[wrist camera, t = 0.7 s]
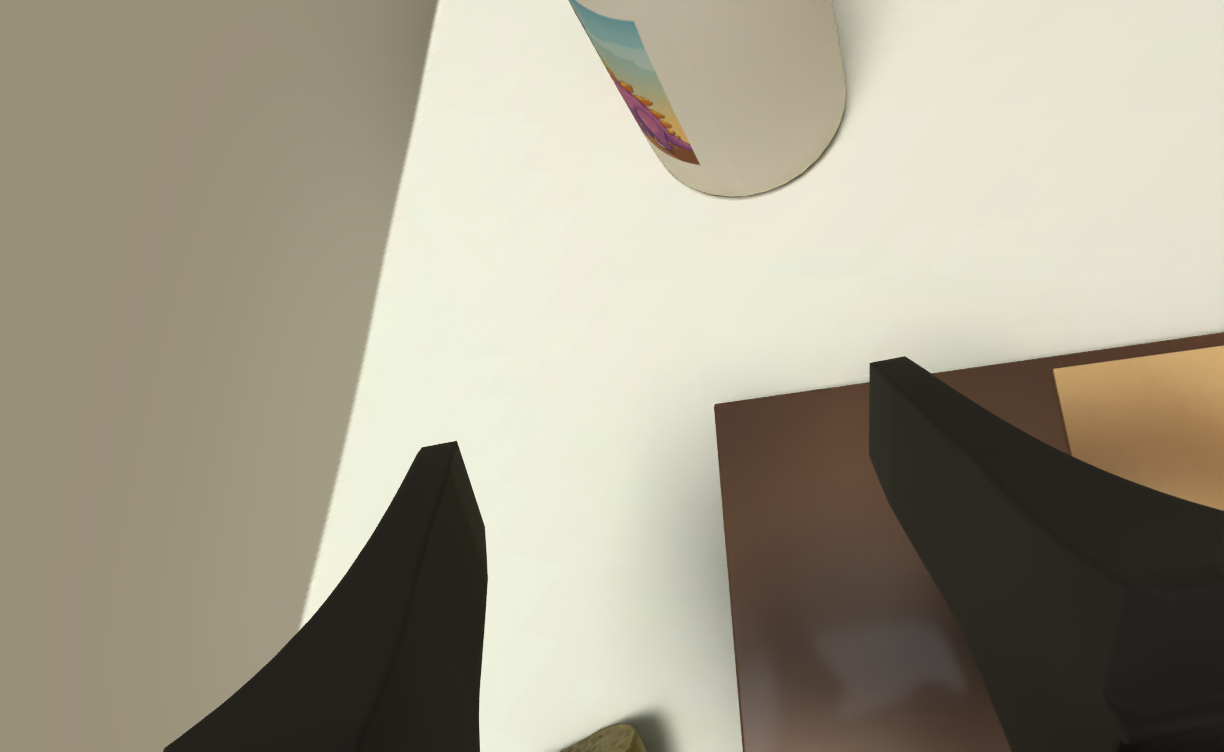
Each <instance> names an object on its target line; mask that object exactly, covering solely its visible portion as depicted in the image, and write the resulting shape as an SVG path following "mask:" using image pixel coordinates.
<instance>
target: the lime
mask: <svg viewBox="0 0 1224 752" xmlns="http://www.w3.org/2000/svg"><path fill="white" fill-rule="evenodd" d="M560 752H646V751H645V747H644V744H643V742H642V740H641V738H640V736H639V735H638V733H637V731H636V730H635V729H634V727H633V726H631V725H623V724H618V725H616V726H614V727H608V728H606V729H603V730H600V731H598V732H596V733H594V734H592V735H591V736H590V737H588V738H586V739H584V740H582V741H579V742H578V743H577V744H575V745H572V746H570V747H569V748H568V749H566V750H562V751H560Z"/></svg>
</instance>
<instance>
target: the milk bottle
mask: <svg viewBox="0 0 1224 752" xmlns="http://www.w3.org/2000/svg"><path fill="white" fill-rule="evenodd" d="M569 2H570V4H571V6H572V8H573V10H574V12H575V13H576V15H577V17H578V19H579V21H580V22H581V24H582V26H583V28H584V30H585V31H586V33H587V35H588V37H589V38H590V40H591V42H592V44H593V46H594V47H595V49H596V51H597V53H598V55H599V56H600V58H601V60H602V62H603V64H604V65H605V67H606V69H607V71H608V73H609V74H610V76H611V78H612V79H613V81H614V83H615V85H616V86H617V88H618V90H619V92H620V93H621V95H622V97H623V99H624V100H625V102H626V104H627V106H628V107H629V109H630V111H631V113H632V114H633V116H634V118H635V120H636V121H637V123H638V125H639V127H640V128H641V130H642V132H643V133H644V135H645V137H646V139H647V140H648V142H649V144H650V145H651V147H652V149H653V150H654V152H655V153H656V155H657V157H658V158H659V160H660V161H661V162H662V164H663V165H664V167H665V168H666V169H667V170H668V171H669V172H670V173H671V174H672V175H673V176H674V177H675V178H676V179H678V180H679V181H681V182H682V183H684V184H686V185H687V186H689V187H691V188H694V189H696V190H699V191H702V192H705V193H709V194H712V195H721V196H728V197H733V196H749V195H753V194H757V193H762V192H767V191H769V190H771V189H774V188H776V187H778V186H781V185H783V184H786V183H787V182H789V181H790V180H792V179H793V178H795V177H796V176H798V175H800V174H801V173H803V172H804V171H805V170H806V169H807V168H808V167H809V166H810V165H811V164H813V163H814V162H815V161H816V160H817V159H818V157H819V156H820V155H821V153H822V152H823V151H824V150H825V149H826V147H827V146H828V145H829V143H830V141H831V140H832V138H833V136H834V135H835V133H836V131H837V129H838V126H839V124H840V122H841V119H842V116H843V112H844V107H845V100H846V85H845V77H844V68H843V61H842V55H841V49H840V44H839V38H838V32H837V26H836V21H835V15H834V10H833V4H832V0H569Z"/></svg>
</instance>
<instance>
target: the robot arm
mask: <svg viewBox="0 0 1224 752" xmlns="http://www.w3.org/2000/svg"><path fill="white" fill-rule="evenodd" d="M869 456H870V459H871V461H872V464H873V467H874V469H875V472H876V474H877V477H878V479H879V482H880V484H881V487H882V489H883V491H884V494H885V496H886V498H887V501H888V503H889V505H890V507H891V509H892V510H893V512H894V514H895V516H896V517H897V519H898V521H899V523H900V524H901V526H902V528H903V530H904V531H905V533H906V535H907V537H908V538H909V540H910V542H911V544H912V545H913V547H914V549H915V550H916V552H917V554H918V556H919V557H920V559H921V561H922V562H923V564H924V566H925V568H926V569H927V571H928V573H929V574H930V576H931V578H932V580H933V581H934V583H935V585H936V586H937V588H938V590H939V592H940V593H941V595H942V597H943V598H944V600H945V602H946V604H947V605H948V607H949V609H950V611H951V613H952V615H953V617H954V619H955V621H956V623H957V625H958V627H959V629H960V631H961V633H962V636H963V638H964V640H965V642H966V645H967V647H968V649H969V651H970V654H971V656H972V658H973V660H974V663H975V665H976V667H977V669H978V672H979V674H980V676H981V679H982V681H983V683H984V686H985V688H986V690H987V693H988V695H989V698H990V700H991V702H992V705H993V707H994V710H995V712H996V714H997V717H998V719H999V722H1000V724H1001V726H1002V729H1003V731H1004V734H1005V737H1006V739H1007V742H1008V744H1009V747H1010V749H1011V752H1224V511H1223V510H1219V509H1216V508H1212V507H1209V506H1205V505H1202V504H1198V503H1194V502H1191V501H1188V500H1185V499H1182V498H1178V497H1175V496H1172V495H1169V494H1166V493H1163V492H1160V491H1157V490H1154V489H1152V488H1149V487H1146V486H1143V485H1141V484H1138V483H1135V482H1132V481H1130V480H1127V479H1124V478H1122V477H1119V476H1117V475H1114V474H1112V473H1109V472H1107V471H1104V470H1102V469H1100V468H1097V467H1095V466H1093V465H1091V464H1088V463H1086V462H1084V461H1082V460H1080V459H1077V458H1075V457H1073V456H1071V455H1068V454H1066V453H1064V452H1062V451H1060V450H1058V449H1056V448H1054V447H1052V446H1050V445H1048V444H1046V443H1044V442H1042V441H1040V440H1039V439H1037V438H1035V437H1033V436H1031V435H1029V434H1028V433H1026V432H1024V431H1022V430H1020V429H1018V428H1017V427H1015V426H1013V425H1011V424H1010V423H1008V422H1006V421H1004V420H1003V419H1001V418H999V417H998V416H996V415H994V414H993V413H991V412H989V411H988V410H986V409H985V408H983V407H981V406H980V405H978V404H977V403H975V402H973V401H972V400H970V399H969V398H967V397H966V396H964V395H963V394H961V393H959V392H958V391H956V390H955V389H953V388H952V387H950V386H949V385H947V384H946V383H944V382H943V381H941V380H940V379H938V378H937V377H935V376H934V375H932V374H931V373H929V372H928V371H926V370H925V369H923V368H922V367H920V366H919V365H917V364H916V363H914V362H913V361H911V360H910V359H908V358H907V357H899V358H894V359H889V360H883V361H878V362H873V363H870V389H869ZM487 582H488V575H487V554H486V539H485V526H484V523H483V520H482V517H481V514H480V511H479V508H478V505H477V502H476V499H475V495H474V492H473V489H472V486H471V483H470V480H469V477H468V474H467V471H466V468H465V465H464V462H463V459H462V456H461V453H460V449H459V446H458V443H457V441H454V442H448V443H443V444H438V445H433V446H427V447H422V448H421V450H420V451H419V452H418V454H417V455H416V457H415V459H414V461H413V463H412V465H411V467H410V469H409V471H408V473H407V475H406V476H405V478H404V480H403V482H402V484H401V486H400V488H399V489H398V491H397V493H396V495H395V497H394V498H393V500H392V502H391V504H390V506H389V507H388V509H387V511H386V512H385V514H384V516H383V517H382V519H381V521H380V522H379V524H378V526H377V527H376V529H375V531H374V533H373V534H372V536H371V537H370V539H369V540H368V542H367V544H366V545H365V546H364V548H363V549H362V551H361V552H360V554H359V555H358V557H357V558H356V560H355V561H354V563H353V564H352V566H351V567H350V569H349V570H348V572H347V573H346V575H345V576H344V577H343V579H342V580H341V581H340V583H339V584H338V585H337V587H336V588H335V589H334V591H333V592H332V593H331V595H330V596H329V597H328V598H327V600H326V601H325V602H324V603H323V605H322V606H321V607H320V608H319V609H318V611H317V612H316V613H315V614H314V615H313V617H312V618H311V619H310V620H309V621H308V622H307V623H306V624H305V625H304V626H303V627H302V629H301V630H300V631H299V632H298V633H297V634H296V635H295V636H294V637H293V638H292V639H291V640H290V641H289V642H288V643H287V644H286V645H285V646H284V647H283V649H282V650H281V651H280V652H279V653H278V654H277V655H276V656H275V657H274V658H273V659H272V660H271V661H270V662H269V663H268V664H267V665H266V666H264V667H263V668H262V669H261V670H260V671H259V672H258V673H257V674H256V675H255V676H254V677H253V678H252V679H251V680H249V681H248V682H247V683H246V684H245V685H244V686H242V687H241V688H240V689H239V690H238V691H237V692H236V693H235V694H234V695H232V696H231V697H230V698H229V699H228V700H226V701H225V702H224V703H223V704H222V705H220V706H219V707H218V708H217V709H215V710H214V711H213V712H212V713H210V714H209V715H208V716H206V717H205V718H204V719H203V720H201V721H200V722H199V723H197V724H196V725H195V726H193V727H192V728H191V729H190V730H188V731H187V732H186V733H184V734H183V735H182V736H181V737H179V738H178V739H177V740H175V741H174V742H173V743H171V744H170V745H168V746H167V747H165V749H164V751H163V752H480V740H479V692H480V678H481V665H482V652H483V639H484V626H485V612H486V597H487Z"/></svg>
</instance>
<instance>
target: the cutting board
mask: <svg viewBox="0 0 1224 752" xmlns="http://www.w3.org/2000/svg"><path fill="white" fill-rule="evenodd" d="M932 375H934V376H935V377H937V378H938V379H940V380H941V381H943V382H944V383H946V384H947V385H949V386H950V387H952V388H953V389H955V390H956V391H958V392H959V393H961V394H963V395H964V396H966V397H967V398H969V399H970V400H972V401H973V402H975V403H977V404H978V405H980V406H981V407H983V408H985V409H986V410H988V411H989V412H991V413H993V414H994V415H996V416H998V417H999V418H1001V419H1003V420H1004V421H1006V422H1008V423H1010V424H1011V425H1013V426H1015V427H1017V428H1018V429H1020V430H1022V431H1024V432H1026V433H1028V434H1029V435H1031V436H1033V437H1035V438H1037V439H1039V440H1040V441H1042V442H1044V443H1046V444H1048V445H1050V446H1052V447H1054V448H1056V449H1058V450H1060V451H1062V452H1064V453H1066V454H1068V455H1071V456H1073V457H1075V458H1077V459H1080V460H1082V461H1084V462H1086V463H1088V464H1091V465H1093V466H1095V467H1097V468H1100V469H1102V470H1104V471H1107V472H1109V473H1112V474H1114V475H1117V476H1119V477H1122V478H1124V479H1127V480H1130V481H1132V482H1135V483H1138V484H1141V485H1143V486H1146V487H1149V488H1152V489H1154V490H1157V491H1160V492H1163V493H1166V494H1169V495H1172V496H1175V497H1178V498H1182V499H1185V500H1188V501H1191V502H1194V503H1198V504H1202V505H1205V506H1209V507H1212V508H1216V509H1219V510H1223V511H1224V332H1222V333H1215V334H1208V335H1201V336H1194V337H1187V338H1180V339H1173V340H1166V341H1159V342H1151V343H1144V344H1137V345H1130V346H1123V347H1116V348H1109V349H1102V350H1095V351H1088V352H1081V353H1074V354H1067V355H1059V356H1052V357H1045V358H1038V359H1031V360H1024V361H1017V362H1010V363H1003V364H996V365H989V366H982V367H974V368H967V369H960V370H953V371H946V372H939V373H932ZM869 389H870V382H868V383H861V384H854V385H847V386H840V387H833V388H826V389H819V390H812V391H805V392H798V393H790V394H783V395H776V396H769V397H762V398H755V399H748V400H741V401H734V402H727V403H720V404H715V406H714V412H715V424H716V436H717V448H718V460H719V472H720V484H721V496H722V508H723V519H724V531H725V543H726V555H727V567H728V579H729V591H730V603H731V615H732V627H733V639H734V651H735V663H736V675H737V687H738V699H739V711H740V723H741V735H742V747H743V752H1011V749H1010V747H1009V744H1008V742H1007V739H1006V737H1005V734H1004V731H1003V729H1002V726H1001V724H1000V722H999V719H998V717H997V714H996V712H995V710H994V707H993V705H992V702H991V700H990V698H989V695H988V693H987V690H986V688H985V686H984V683H983V681H982V679H981V676H980V674H979V672H978V669H977V667H976V665H975V663H974V660H973V658H972V656H971V654H970V651H969V649H968V647H967V645H966V642H965V640H964V638H963V636H962V633H961V631H960V629H959V627H958V625H957V623H956V621H955V619H954V617H953V615H952V613H951V611H950V609H949V607H948V605H947V604H946V602H945V600H944V598H943V597H942V595H941V593H940V592H939V590H938V588H937V586H936V585H935V583H934V581H933V580H932V578H931V576H930V574H929V573H928V571H927V569H926V568H925V566H924V564H923V562H922V561H921V559H920V557H919V556H918V554H917V552H916V550H915V549H914V547H913V545H912V544H911V542H910V540H909V538H908V537H907V535H906V533H905V531H904V530H903V528H902V526H901V524H900V523H899V521H898V519H897V517H896V516H895V514H894V512H893V510H892V509H891V507H890V505H889V503H888V501H887V498H886V496H885V494H884V491H883V489H882V487H881V484H880V482H879V479H878V477H877V474H876V472H875V469H874V467H873V464H872V461H871V459H870V456H869Z"/></svg>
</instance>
